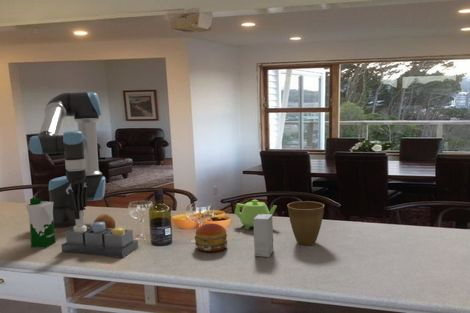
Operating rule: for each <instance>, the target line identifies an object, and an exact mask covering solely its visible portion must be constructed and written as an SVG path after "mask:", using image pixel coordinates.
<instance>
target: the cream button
mask: <svg viewBox="0 0 470 313" xmlns="http://www.w3.org/2000/svg"><path fill="white" fill-rule="evenodd" d="M86 227H87V225H86V224H84V226H82V227H79V226H76V225H75V226H74V225H73V228H74V231H75V232H83V231H85V230H87V228H86Z"/></svg>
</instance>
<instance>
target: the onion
mask: <svg viewBox="0 0 470 313" xmlns="http://www.w3.org/2000/svg"><path fill="white" fill-rule="evenodd" d="M95 222H105V228H113V229H114V228H116V227H117V226H116V221H115V219H114V217H113V216H111V215H110V214H109V213H104V212H103V213H101V214H99V215H98V216H97V217H96V218H95V219H94V221H93V223H95Z"/></svg>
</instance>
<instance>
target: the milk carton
mask: <svg viewBox="0 0 470 313" xmlns="http://www.w3.org/2000/svg"><path fill="white" fill-rule="evenodd" d="M25 208H26V210H27V214H28V218H29V220H28V222H29V229H30V247H31V248H47V247H48V248H49V247H50V246H52V245H53V244H56V242H57V241H56V235H55V227H54V222H53V202H50V201H47V200H46V201H41V198H40V197H33V198H30V199H29V204H27V205H26V207H25Z"/></svg>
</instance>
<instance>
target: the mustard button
mask: <svg viewBox="0 0 470 313" xmlns="http://www.w3.org/2000/svg"><path fill="white" fill-rule="evenodd" d="M125 229H126V228H125V227H115V228H114V229H112V234H114V235H122V234H124V233H125Z"/></svg>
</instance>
